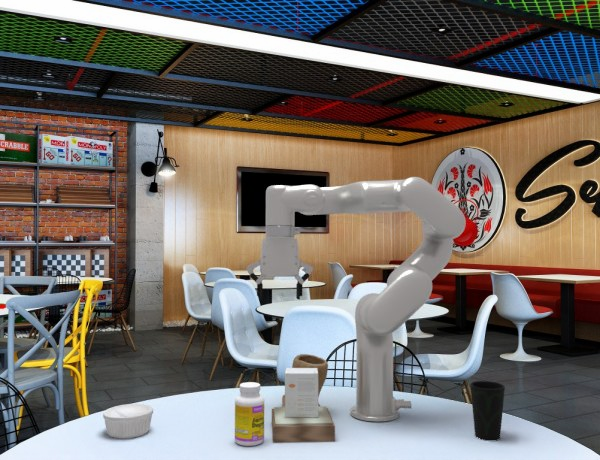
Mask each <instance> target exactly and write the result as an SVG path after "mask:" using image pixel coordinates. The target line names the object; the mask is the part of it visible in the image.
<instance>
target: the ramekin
mask: <svg viewBox="0 0 600 460" xmlns="http://www.w3.org/2000/svg"><path fill="white" fill-rule="evenodd" d="M153 414H154V408H153V407H152V406H150V405H148V404H145V403H143V404H142V403H126V404H120V405H115V406H112V407H110V408H107V409H106V410H104V412H103V413H102V415H103V419H104V424H105V429H106V433H107V434H108V436H109V437H111V438H113V437H114V439H123V440H125V439H133V438H137V437H140V436H143V435H145V434H146V433H148V431H149V430H150V428H151V422H152V416H153Z"/></svg>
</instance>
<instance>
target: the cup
mask: <svg viewBox="0 0 600 460" xmlns="http://www.w3.org/2000/svg"><path fill="white" fill-rule="evenodd" d="M469 386H470V394H471V395H470V396H471V407H472V416H473V426H474V436H475V438H477V437H478V438H477V439H479V438H480V439H479V440H482V439H485V440H484V441H486V440H496V441H498V440H497V439H499V438H500V439H501V432H502V421H503V411H504V410H503V409H504V401H505V399H504V398H505V390H506V386H505V385H504V384H502V383H500V382H495V381H490V380H489V381H487V380H478V381H473V382H470V385H469ZM500 439H499V440H500Z"/></svg>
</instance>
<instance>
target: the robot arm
mask: <svg viewBox="0 0 600 460" xmlns="http://www.w3.org/2000/svg"><path fill="white" fill-rule="evenodd" d="M295 212H298V213H300V214H303V215H305V216H313V215H315V216H316V215H318V216H319V215H340V214H348V215H349V214H352V215H361V214H379V213H381V214H382V213H403V212H404V213H405V212H406V213H407V212H412V213H413V214H414V215H415V216H416V217H418V218H419V219H420V220H421V221H422V222H421V228H422V234H423V235H422V240H421V243H420V245H419V246H418V248H417V249H416V250H415V251H414V252H413V253H412V254H411V255H410V256H408V258H406V260H404V261H403V262H402V263H401V264H400V265H399V266H397V267H396V268H395V269H394V270H393V271H392V272H391V273H390V274H389V276H388V278H387V281H386V287H384V288H383V290H382V291H380V292H379V293H374V292H371V293H368V294H365V295H363V296H362V297H361V298H360V299H359V300H358V301H357V304H356V307H355V311H354V319H355V320H354V321H355V334H356V336H355V338H356V362H355V363H356V369H355V370H356V371H355V372H356V378H355V379H356V380H355V381H356V382H355V383H356V385H355V387H356V389H355V390H356V391H355V394H356V397H355V399H356V400H355V402H356V403H355V405H353V406H352V407H351V408H350V409H349V410H350V411H349V412H350V415H351V416H352V417H353V418H355V419H357V420H361V421H365V422H376V423H377V422H378V423H381V422H389V421H394V420H397V418H398V417H400V411H399V410H400V409H412V402H411V400H404V398H403V399H401V398H399V399H396V398H395V397H394V337H393V333H394V332H395V331H396V330H398V329H400V328H401V326H403V325H404V324H405V323H406V322H407V321H408V320H409V319H410V318H411V317H412V316H413V315H415V313H417V312H418V311H419V310H420V309H421V308H422V307H423V306H424V305H425V304H426V303H427V301H428V300H429V298H430V297H431V294H432V291H433V282H432V281H433V280H434V279H435V278H436V277H437V276H438V275H439V274H440V273H441V272H442V271H443V270H444V268H445V267H446V266H447V265H448V263H449V261H450V260H451V257H452V254H453V247H454V239H456V238H458V237H460V236H461V235H462V233H463V232H464V231H465V228H466V224H467V223H466V217H465V214H464V213H463V211H462V210H461V209H460V208H459V207H458V206H457V205H456V204H455V203H453V201H451V200H450V199H448V198H447V197H446V196H445V195H444V194H443V193H441V192H440V191H439V190H438V189H437V188H436V187H435V186H433V185H432V184H431V183H429V182H428V181H427V180H426V179H423V178H422V177H419V176H411V177H408V178H405V179H390V180H389V179H388V180H362V181H357V182H351V183H349V184H344V185H337V186H324V187H323V186H322V187H320V186H318V185H315V184H311V183H310V184H301V185H283V184H280V185H279V184H278V185H277V184H276V185H275V184H274V185H270V186H268V187H267V188H266V190H265V237H263V238H262V240H261V241H262V242H261V246H260V247H261V248H260V257H259V258H260V259H259V260H257V261H254V262H253V263H251V264H249V265H247V266H246V267H245V268H246V271H247V273H248V275H249V277H250V278H251V279H252V281H253V282H255V283H256V296H257V297H259V300H261V301H262V300H263V296H264V295H263V292H264V291H263V288H264V286H263V280H265V278H266V277H269V278H270V277H271V278H274V277H275V278H277V277H278V278H279V277H280V278H281V277H285V278H286V277H287V278H288V277H289V278H290V277H291V278H292V277H293V278H294V279H295V280H297V283H296V286H295V287H296V289H295V290H296V295H295V296H296V299H297V300H301V297H303V284H304V283H305V282H306V281H307V280H308V279H309V277H310V275H311V274H312V272H313V270H314V267H313V266H312V265H309V263H306V262H304V261H302V260H300V251H299V242H298V238H295V236H296V235H300V234H301V228H297V227H295V219H296V218H295ZM257 267H259V268H260V269H259V270H260V275H259V276H257V275H256V274H255V273H254V269H256V268H257ZM300 267H302V268H304V269H305V270H306V271H305V273H304V274H303V275H302V276H300Z"/></svg>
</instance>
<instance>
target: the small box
mask: <svg viewBox="0 0 600 460" xmlns="http://www.w3.org/2000/svg"><path fill="white" fill-rule="evenodd" d="M284 395H285V417H318V408H319V404H320V403H319V398H318V369H317V368H292V367H286V368H285V372H284Z"/></svg>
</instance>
